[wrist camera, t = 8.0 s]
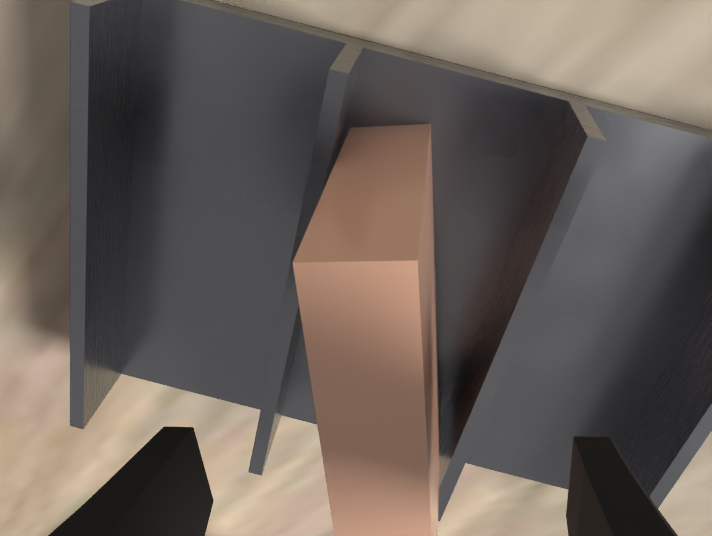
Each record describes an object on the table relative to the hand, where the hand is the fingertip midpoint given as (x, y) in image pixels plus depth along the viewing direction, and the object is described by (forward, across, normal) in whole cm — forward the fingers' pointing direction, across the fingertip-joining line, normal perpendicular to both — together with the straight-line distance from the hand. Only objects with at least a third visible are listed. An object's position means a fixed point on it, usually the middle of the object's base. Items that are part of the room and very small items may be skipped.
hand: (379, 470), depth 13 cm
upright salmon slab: (+7, 0, 0) cm, 7 cm away
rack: (+8, 0, 0) cm, 8 cm away
